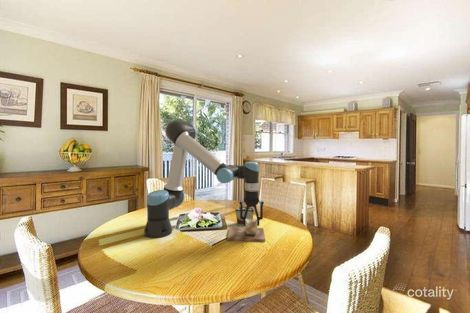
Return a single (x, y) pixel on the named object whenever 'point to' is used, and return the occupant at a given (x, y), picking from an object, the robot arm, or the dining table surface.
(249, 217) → the food container
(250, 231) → the sanding block
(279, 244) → the dining table surface
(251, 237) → the board
